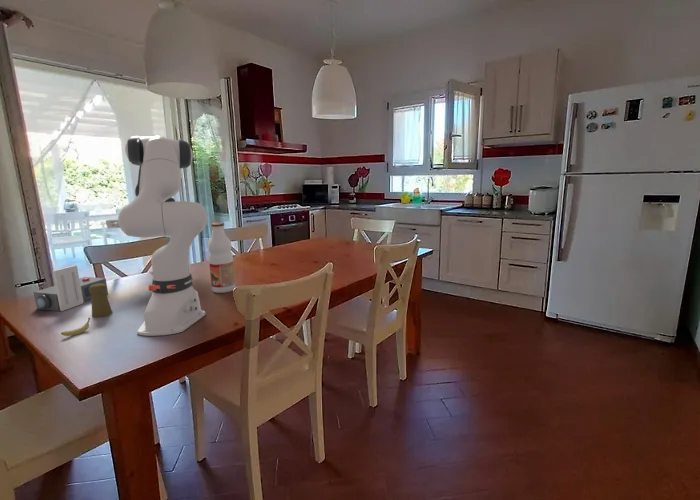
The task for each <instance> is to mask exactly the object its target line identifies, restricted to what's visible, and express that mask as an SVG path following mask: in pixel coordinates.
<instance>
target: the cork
mask: <svg viewBox="0 0 700 500" xmlns="http://www.w3.org/2000/svg"><path fill="white" fill-rule="evenodd" d="M107 290H108V286H107V287H106V285H105V284H94V285H91V286H90V287H89V293H90V294H91V295H92V299H91V317H92V318H103V317H107V316H110V315H112V314H113V310H112V308H111V305H110V301H109V299H108V296H107V294H106V291H107Z"/></svg>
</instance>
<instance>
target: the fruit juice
mask: <svg viewBox="0 0 700 500" xmlns="http://www.w3.org/2000/svg"><path fill="white" fill-rule="evenodd" d="M210 226H211V232H212V233H211V237H210V239H208V242H207V249H208V251H209V255H208V263H209V264H208V265H209V274H210V275H209V276H210V282H211V290H212V292H214V293H216V294H217V293H218V294H222V293H229V292H232V291H234V290H233V288H235V289H236V278H235V277H236V276H235V266H234V256H233V253H232V251H231V250H232V241H231V239H230V238H229V237H228V236H227V235H226V232H225V229H224V228H225V223H224V222H212V223H211V225H210Z"/></svg>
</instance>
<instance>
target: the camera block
mask: <svg viewBox="0 0 700 500" xmlns="http://www.w3.org/2000/svg"><path fill="white" fill-rule="evenodd" d="M79 280H80V285H81V291H82V296H83V301H84V303H87V302H88V301H90V300H91V301H92V295H91V294H90V293H89V287H90V286H91V285H94V284H105V285H106V287H107V288H108V284H107V279H106V278H103V277H93V276H92V277H90V276H83V277H79ZM107 294H109V291H108V289H107V291H106V295H107ZM33 296H34V297H33V298H34V301H35V305H36V309H38V310H43V311H45V310H46V311H52V312H53V311H54V312H61V311H60V307H59V302H58V297H57V292H56V287H55V285H53V286H49V287H46V288H42V289H39V290H36V291H33Z"/></svg>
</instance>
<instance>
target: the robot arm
mask: <svg viewBox="0 0 700 500" xmlns="http://www.w3.org/2000/svg"><path fill="white" fill-rule="evenodd" d="M124 152H125V155H126V157H127V159H128V161H129V162H130V164H132V165H135V166H139V167H138V176H137V184H136V186H135V189H134V194H135V198H134V199H133V200H132V201H131V202H130V203H128V204H127V205H125V206H123V207H122V208H121V210H120V211H119V214H118V217H115V218H109V219H106V220H105V224H106V228H107V229H120V230H121V231H122V233H124V234H125V235H126V236H128V237H132V238H133V237H134V238H143V239H144V238H145V239H146V238H156V237H157V238H159V237H169V242H168V243H167V244H165V245H162V246H161V247H159V248H157V249H156V250H155V251H154V252H153V253H152V254H151V258H150V263H151V269H152V276H153V279H152V282H151V284H148V286H147V287H148V289H147V290H148V291H149V292H152V294H151V295H150V298H149V300H148V303H147V305H146V308H145V310H144V312H143V317H144V318H143V319H144V321H143V322H142V323H141V325H140V326H139V327H138V329H137V330H136V332H137V333H136V334H137V335H139V336H145V337H146V336H148V337H149V336H153V337H154V336H167V335H169V336H170V335H174V334H180V333H182V332H185V330H187V329H188V328H190V327H191V326H192V325H194V324H195V323H196V322H198V321H199V320H200V319H202V318H203V317H205V315H206V311H205V310H202V307H201V302H200V297H199V292H198V291H197V290H196V289H195V288H194V286H193V284H194V283H193V277H192V274H191V272H190V271H191V269H190V249H191V245H192V243H193V241H194V240H195V238H196V237H197V236H198V235H199V234H200V233H201V232H202V231H204V229H205V228H206V227H207V223H208V213H207V211H206V209H205V207H203V205H202V204H201V203H200V202H194V201H185V200H183V201H181V200H179V201H178V200H177V201H176V200H175V198H173V197H175V196H176V195H177V194H179V193H178V192H180V189H181V186H182V185H181V183H182V182H181V172H180V171H181V169H186V168H189V167H190V166H191V164H192V162H193V158H194V152H193V150H192V146H191V145H190V143H189V142H187V141H186V140H183V139H178V140H177V139H173V138H167V137H165V136H161V135H155V136H140V135H134V136H130V137H128V139H127V141H126V143H125V148H124Z"/></svg>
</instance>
